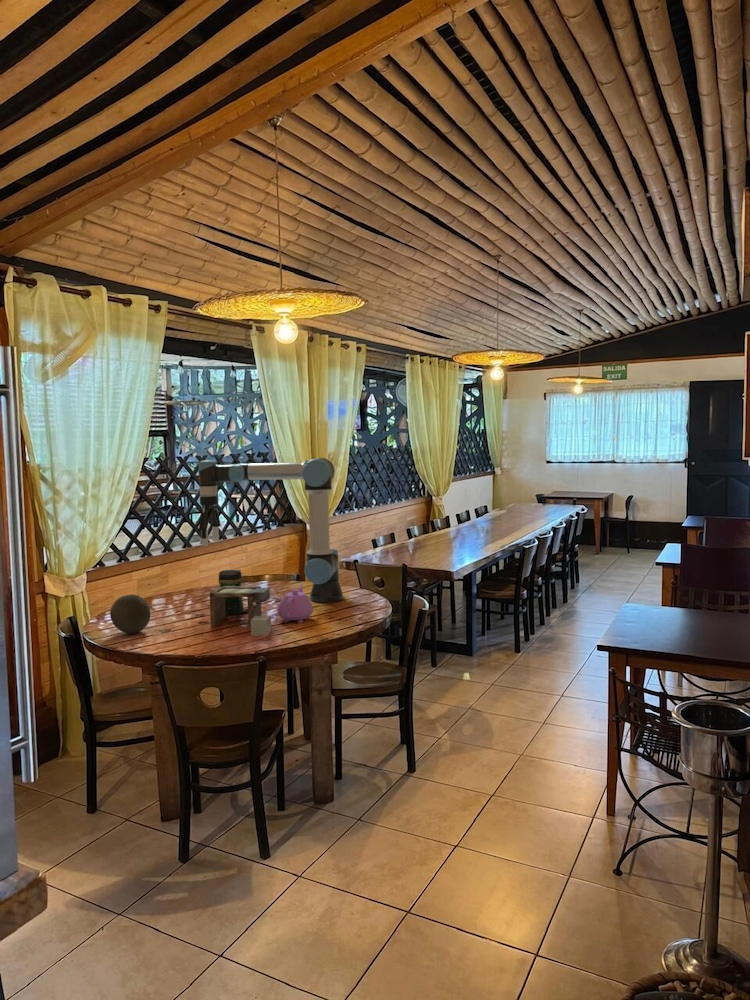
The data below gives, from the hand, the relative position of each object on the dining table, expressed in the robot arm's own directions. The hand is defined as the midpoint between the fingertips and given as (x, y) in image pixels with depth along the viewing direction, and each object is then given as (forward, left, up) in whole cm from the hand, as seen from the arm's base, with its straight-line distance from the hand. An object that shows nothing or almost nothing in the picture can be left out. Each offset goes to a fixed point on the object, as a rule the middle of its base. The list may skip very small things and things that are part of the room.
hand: (210, 543), depth 299 cm
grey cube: (-34, +42, -28) cm, 61 cm away
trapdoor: (-23, +28, -18) cm, 41 cm away
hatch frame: (-20, +28, -28) cm, 44 cm away
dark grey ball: (+16, +45, -28) cm, 56 cm away
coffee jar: (-13, +13, -28) cm, 34 cm away
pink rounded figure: (-43, +22, -28) cm, 56 cm away
